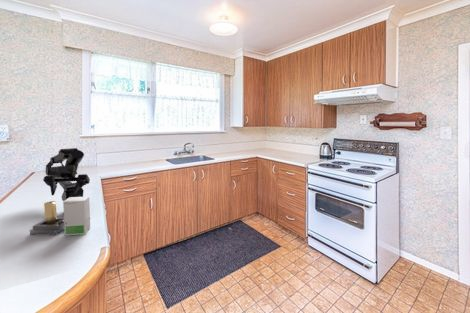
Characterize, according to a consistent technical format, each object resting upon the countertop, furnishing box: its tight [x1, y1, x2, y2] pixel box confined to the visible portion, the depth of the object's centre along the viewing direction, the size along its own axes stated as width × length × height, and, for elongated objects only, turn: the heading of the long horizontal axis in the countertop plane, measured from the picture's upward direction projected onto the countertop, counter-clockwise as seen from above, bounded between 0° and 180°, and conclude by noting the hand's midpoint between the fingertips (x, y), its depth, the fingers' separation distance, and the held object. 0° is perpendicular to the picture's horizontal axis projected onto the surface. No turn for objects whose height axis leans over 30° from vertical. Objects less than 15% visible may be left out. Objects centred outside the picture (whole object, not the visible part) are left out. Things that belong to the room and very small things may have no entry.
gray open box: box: [29, 217, 65, 236], centre depth 101 cm, size 12×9×5 cm
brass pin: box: [43, 200, 58, 225], centre depth 100 cm, size 4×4×13 cm
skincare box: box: [62, 196, 91, 237], centre depth 99 cm, size 8×7×16 cm
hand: (63, 194), depth 110 cm, fingers open, 9 cm apart
